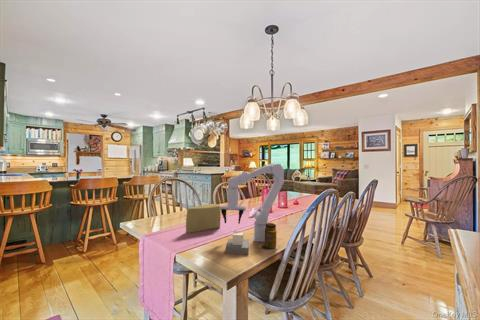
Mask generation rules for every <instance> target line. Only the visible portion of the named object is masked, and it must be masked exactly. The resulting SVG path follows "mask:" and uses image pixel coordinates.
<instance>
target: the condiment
mask: <svg viewBox="0 0 480 320" xmlns="http://www.w3.org/2000/svg"><path fill="white" fill-rule="evenodd" d="M276 226H277V225H276V224H275V223H273V222H267V224H266V227H265V228H266V229H265V242H264V244H263V245H261V246H259V247H258V248H259V249H261V250H263V251H266V252H269V253H272V252H273V251H275V250H277V249H279V248H280V246H278V245H277V227H276Z"/></svg>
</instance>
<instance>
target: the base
mask: <svg viewBox="0 0 480 320" xmlns="http://www.w3.org/2000/svg"><path fill="white" fill-rule="evenodd" d="M232 244H233V238H227V242H226V245H225V254H238V255H240V254H241V255H249V250H250V249H249V247H250V238H249V239H247V238H243V245H232Z"/></svg>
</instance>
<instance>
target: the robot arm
mask: <svg viewBox="0 0 480 320" xmlns="http://www.w3.org/2000/svg"><path fill="white" fill-rule="evenodd" d="M263 174H270V175H271V176H272V178H273V183H272V185H271V187H270V188H269V191H268V192H267V194H266V196H265V199H264V201H263V202H262V204H261V206H260V207H258V209H257V210H256V211H255V212H254V219H255V221H254V222H253V223H254V228H253V230H254V231H253V237H252V238H253V242H260V243H263V242H264V243H265V229H266V228H265V227H266V224H267V223H268V222H269V221H268V220H269V215H270V210H271V208H272V207H273V204H274V203H275V200H276V199H277V196H278V194H279V193H280V191H281V189H282V187H283V185H284V183H285V175H284V174H285V170H284V168H283V166H282V164H280V163H273V162H272V163H270V164H266V165H263V166H261V167H259V168H256V169H254V170H253V171H250V172H248V171H242V172H241V173H240V174H238V175H234V177H233V176H232V177H231V176H230V178H228V180H227V185H228V187H227V205H219V206H220V207H219V210H221V215H222V217H223V221H224V224H227V211H238V222H237V223H238V224H239V225H240V223H241V219H242V216H243V214H244V212H245V211H246V206H243V205H241V206H240V205H238V204H239V203H238V202H239V190H238V189H239V186H242V185H244V184H247V183H248V182H251V180H252V178H255V177H257V176H261V175H263Z"/></svg>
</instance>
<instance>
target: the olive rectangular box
mask: <svg viewBox="0 0 480 320" xmlns="http://www.w3.org/2000/svg"><path fill="white" fill-rule="evenodd" d="M220 206H221V205H220V204H216V203H209V204H202V205H198V206H193V207H188V208H187V210H186V217H185V233H186V234H190V233H191V232H192V233H195V232H202V231H208V230H214V229H220V228H221V215H222V213H221V210H219V207H220Z"/></svg>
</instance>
